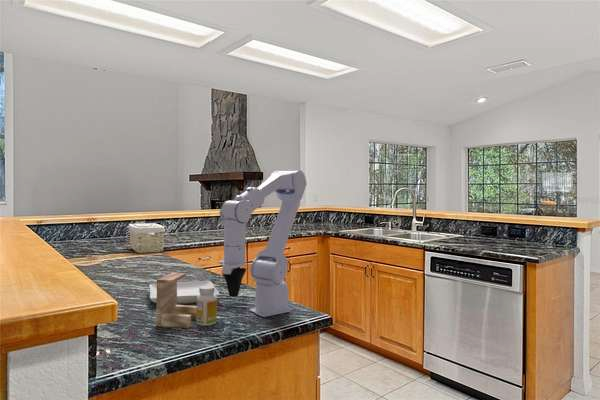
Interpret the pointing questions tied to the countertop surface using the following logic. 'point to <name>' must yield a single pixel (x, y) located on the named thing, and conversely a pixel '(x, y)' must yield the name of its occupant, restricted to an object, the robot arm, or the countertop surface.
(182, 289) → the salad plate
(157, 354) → the countertop surface
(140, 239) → the storage basket
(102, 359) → the countertop surface
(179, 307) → the socket station
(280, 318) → the countertop surface
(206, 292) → the supplement bottle
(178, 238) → the countertop surface
